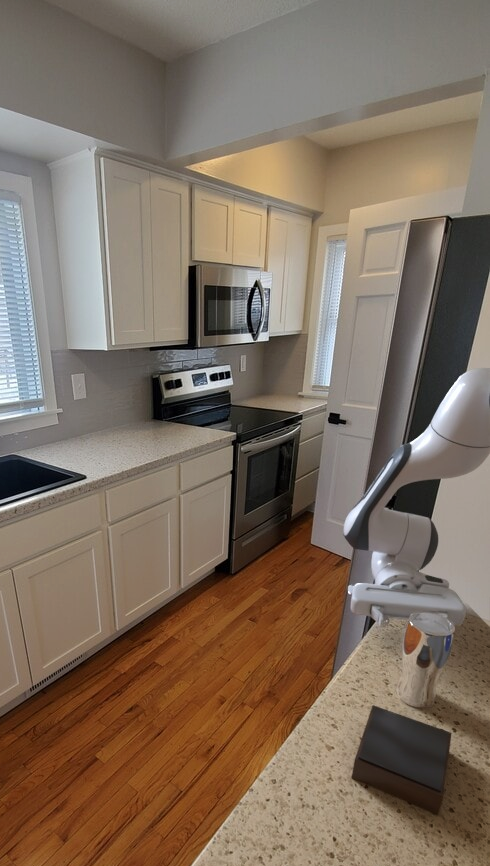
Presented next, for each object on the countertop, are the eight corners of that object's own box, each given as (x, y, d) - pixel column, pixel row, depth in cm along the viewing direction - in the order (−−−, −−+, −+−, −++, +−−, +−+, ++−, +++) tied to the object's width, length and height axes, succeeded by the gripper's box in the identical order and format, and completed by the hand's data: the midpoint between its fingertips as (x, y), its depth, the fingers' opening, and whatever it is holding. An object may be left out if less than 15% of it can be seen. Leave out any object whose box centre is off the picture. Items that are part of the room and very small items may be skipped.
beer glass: (438, 688, 85) (456, 616, 79) (438, 715, 79) (457, 640, 73) (394, 677, 88) (408, 606, 82) (391, 702, 82) (406, 629, 76)
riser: (369, 722, 78) (372, 703, 77) (446, 750, 73) (452, 731, 71) (351, 778, 69) (354, 757, 68) (438, 815, 64) (444, 794, 62)
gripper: (348, 571, 102) (353, 606, 90) (456, 580, 97) (477, 619, 85) (345, 596, 105) (349, 634, 93) (450, 607, 100) (469, 648, 88)
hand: (412, 627), depth 89 cm, fingers open, 8 cm apart
